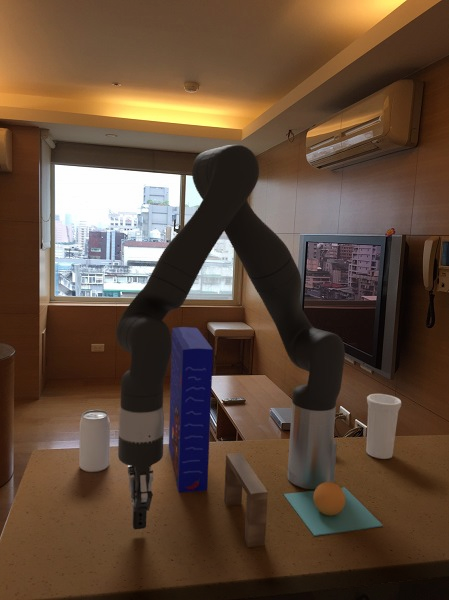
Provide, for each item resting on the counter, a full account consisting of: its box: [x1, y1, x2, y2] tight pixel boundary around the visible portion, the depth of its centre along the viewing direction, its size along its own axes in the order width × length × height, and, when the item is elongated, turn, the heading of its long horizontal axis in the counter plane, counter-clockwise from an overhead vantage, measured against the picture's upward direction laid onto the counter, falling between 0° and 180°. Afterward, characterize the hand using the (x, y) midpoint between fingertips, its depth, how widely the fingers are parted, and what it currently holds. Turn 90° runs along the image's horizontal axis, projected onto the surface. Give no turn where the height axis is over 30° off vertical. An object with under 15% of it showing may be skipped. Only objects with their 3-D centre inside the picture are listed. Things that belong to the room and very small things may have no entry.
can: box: [78, 409, 111, 473], centre depth 108 cm, size 6×6×12 cm
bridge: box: [223, 452, 269, 548], centre depth 89 cm, size 3×15×10 cm, turn 16°
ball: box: [313, 482, 345, 516], centre depth 93 cm, size 6×6×6 cm
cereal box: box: [168, 326, 214, 493], centre depth 108 cm, size 22×6×30 cm, turn 12°
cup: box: [365, 393, 402, 460], centre depth 120 cm, size 8×8×14 cm
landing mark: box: [283, 486, 384, 537], centre depth 95 cm, size 14×14×1 cm
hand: (139, 526), depth 84 cm, fingers closed
